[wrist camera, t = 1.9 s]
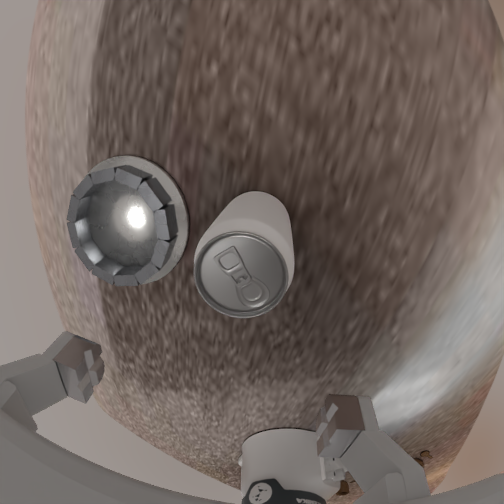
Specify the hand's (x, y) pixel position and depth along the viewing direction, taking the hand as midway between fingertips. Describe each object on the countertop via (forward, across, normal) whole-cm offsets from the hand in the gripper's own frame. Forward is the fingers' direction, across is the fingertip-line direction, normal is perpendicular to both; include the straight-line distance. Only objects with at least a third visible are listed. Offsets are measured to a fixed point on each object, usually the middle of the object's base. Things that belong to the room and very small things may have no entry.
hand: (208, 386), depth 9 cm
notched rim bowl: (+21, +13, +2) cm, 25 cm away
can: (+21, 0, 0) cm, 21 cm away
